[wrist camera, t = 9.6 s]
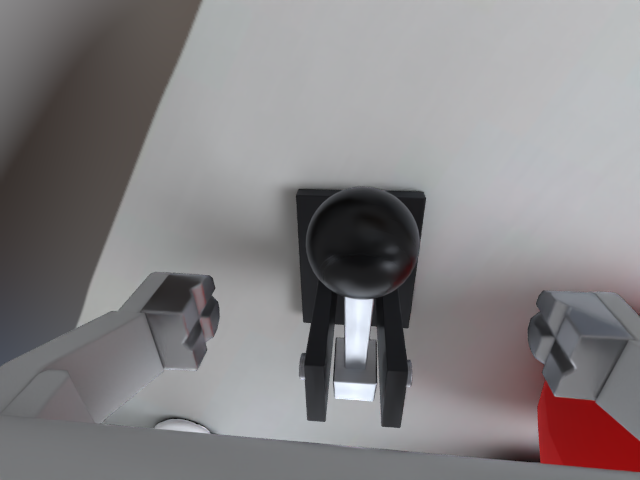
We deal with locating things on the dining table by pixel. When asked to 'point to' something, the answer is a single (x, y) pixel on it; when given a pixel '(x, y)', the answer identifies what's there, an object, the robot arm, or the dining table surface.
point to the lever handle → (361, 272)
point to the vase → (583, 435)
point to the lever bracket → (329, 310)
